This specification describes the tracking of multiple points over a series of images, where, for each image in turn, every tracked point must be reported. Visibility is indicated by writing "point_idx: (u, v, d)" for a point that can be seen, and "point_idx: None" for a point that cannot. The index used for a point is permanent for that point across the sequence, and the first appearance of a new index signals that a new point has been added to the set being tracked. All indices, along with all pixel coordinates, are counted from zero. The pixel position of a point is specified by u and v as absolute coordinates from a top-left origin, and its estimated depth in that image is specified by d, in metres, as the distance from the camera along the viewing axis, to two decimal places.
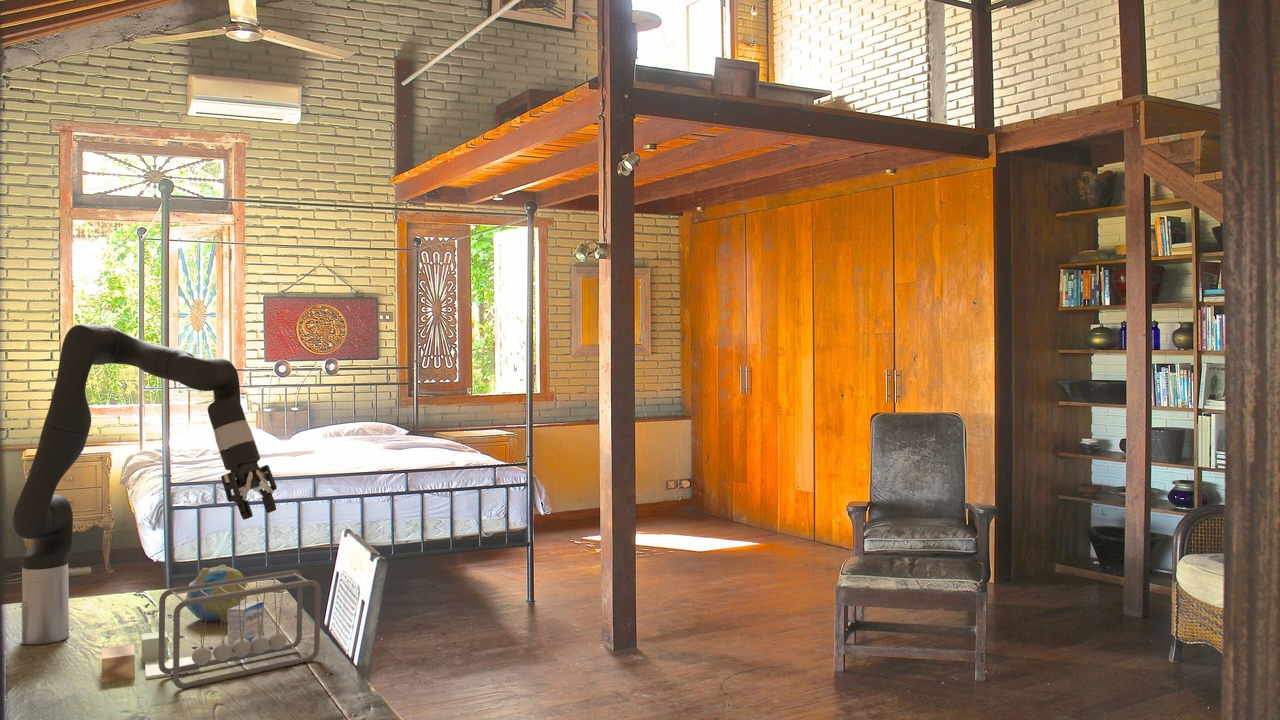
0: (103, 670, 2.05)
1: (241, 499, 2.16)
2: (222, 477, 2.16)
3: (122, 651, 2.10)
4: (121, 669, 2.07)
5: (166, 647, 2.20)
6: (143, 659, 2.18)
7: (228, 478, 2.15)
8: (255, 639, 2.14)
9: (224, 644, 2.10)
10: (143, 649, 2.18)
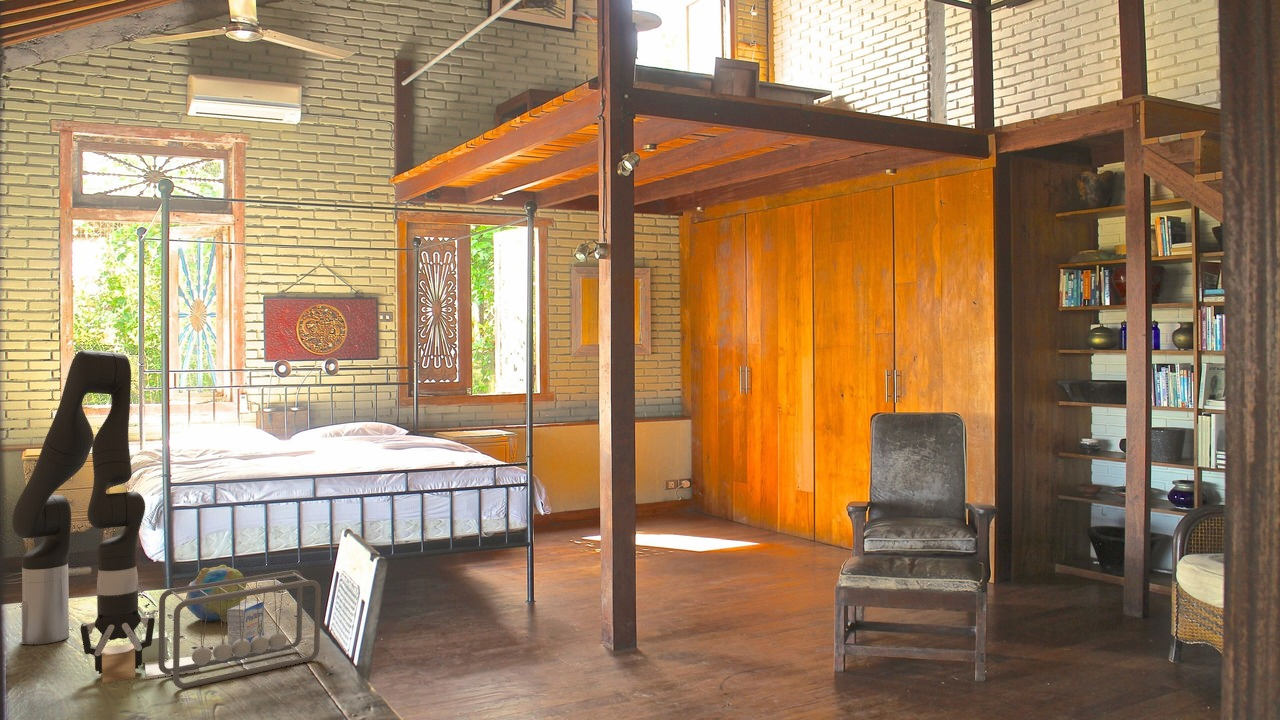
0: (103, 669, 2.05)
1: (94, 654, 2.07)
2: None
3: (122, 650, 2.10)
4: (121, 668, 2.07)
5: (166, 647, 2.20)
6: (143, 659, 2.18)
7: None
8: (255, 639, 2.14)
9: (224, 644, 2.10)
10: (143, 649, 2.18)
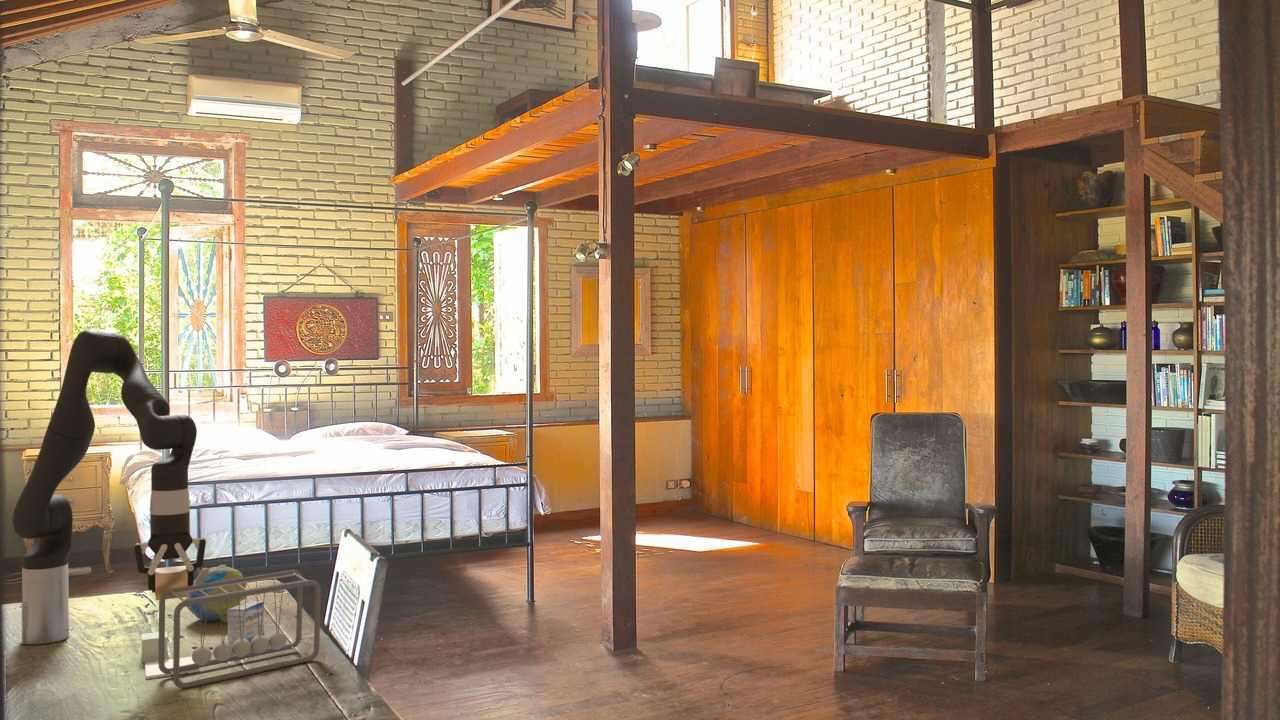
0: (157, 587, 2.09)
1: (147, 573, 2.11)
2: (134, 546, 2.11)
3: (175, 570, 2.13)
4: (174, 586, 2.10)
5: (166, 647, 2.20)
6: (143, 659, 2.18)
7: (135, 550, 2.10)
8: (255, 639, 2.14)
9: (224, 644, 2.10)
10: (143, 649, 2.18)
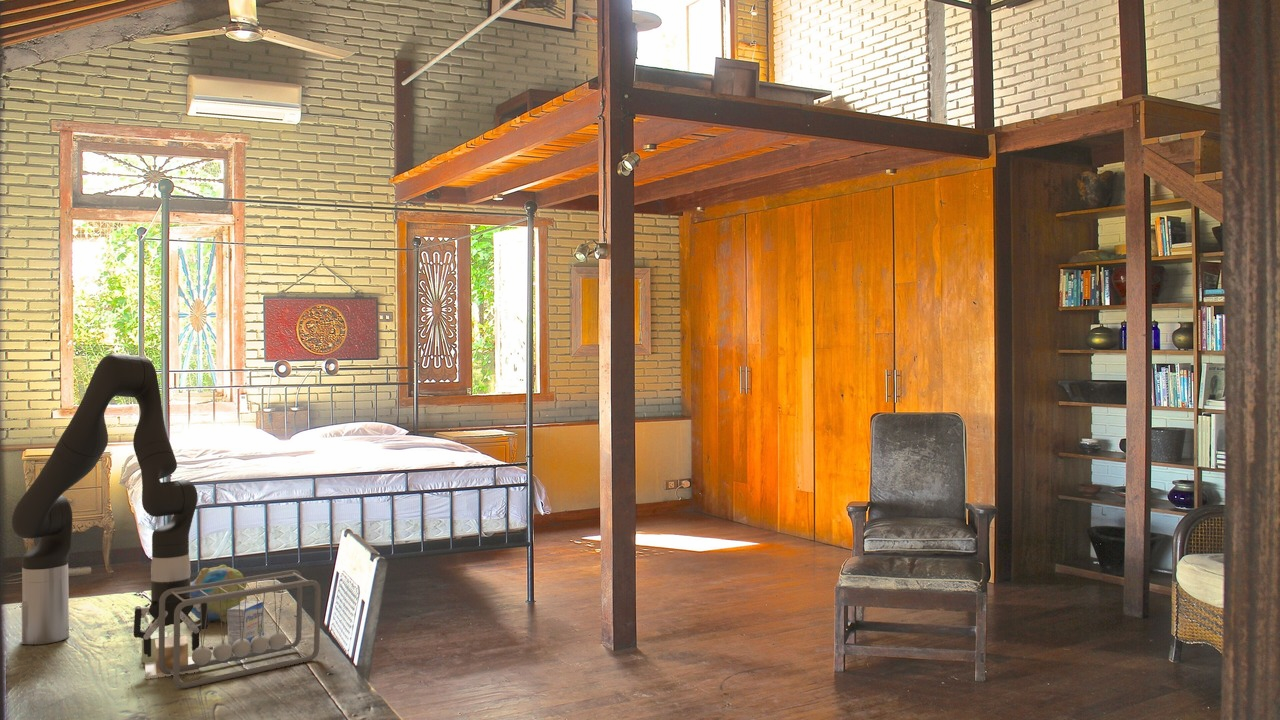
0: None
1: (143, 637, 2.10)
2: (135, 609, 2.11)
3: None
4: None
5: None
6: (143, 659, 2.18)
7: (135, 614, 2.10)
8: (255, 639, 2.14)
9: (224, 644, 2.10)
10: (143, 649, 2.18)
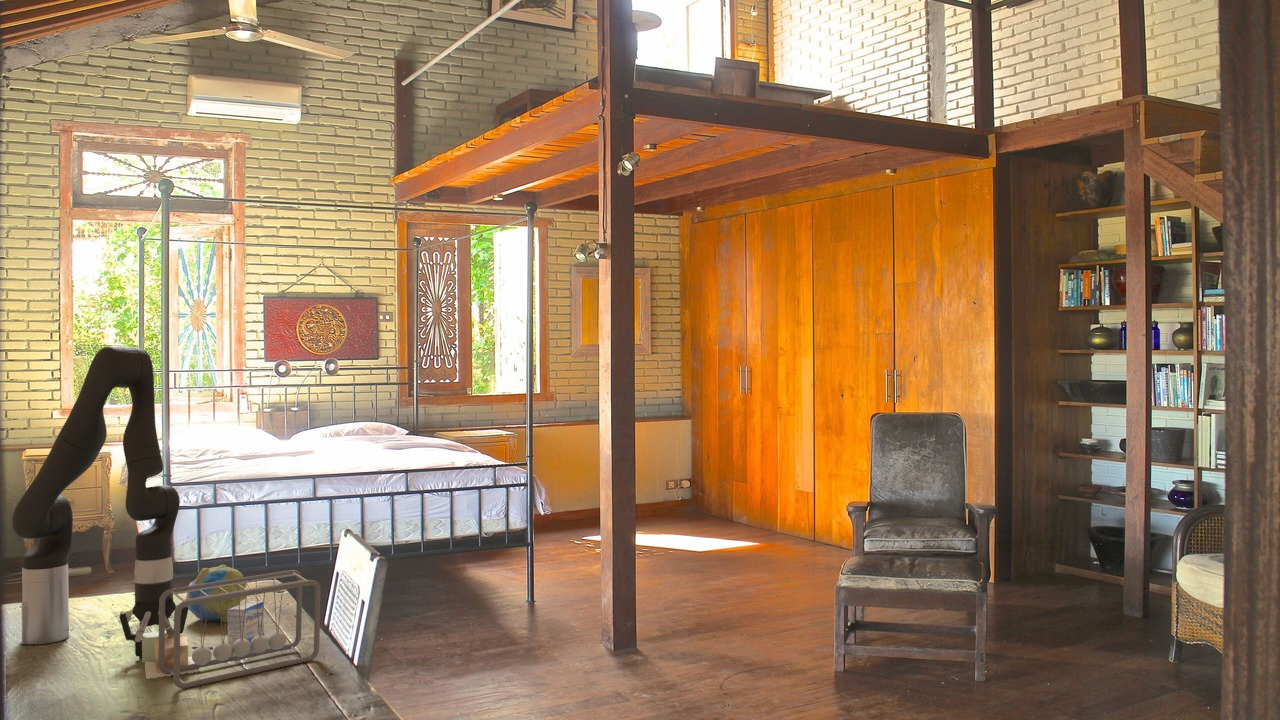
0: None
1: (135, 641, 2.19)
2: None
3: None
4: None
5: None
6: (143, 659, 2.18)
7: None
8: (255, 639, 2.14)
9: (224, 644, 2.10)
10: (143, 649, 2.18)
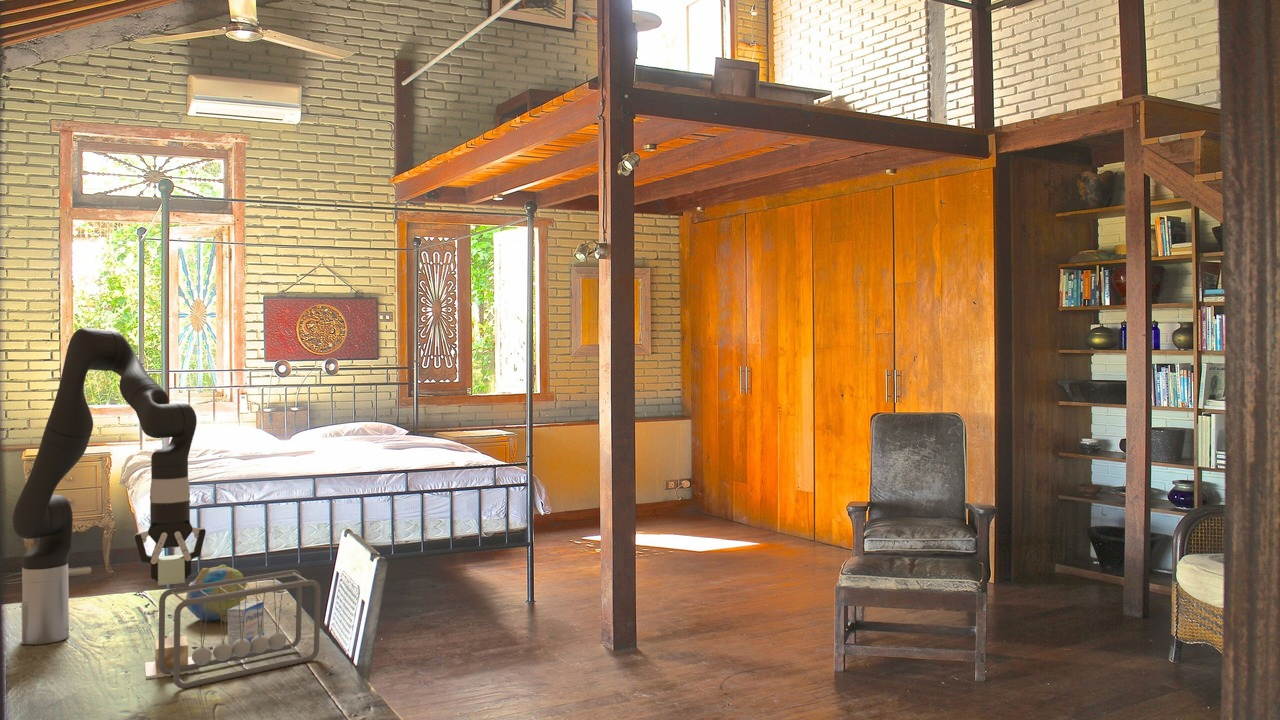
0: None
1: (150, 563, 2.11)
2: None
3: None
4: None
5: (183, 569, 2.12)
6: (159, 581, 2.10)
7: (136, 540, 2.10)
8: (255, 639, 2.14)
9: (224, 644, 2.10)
10: (159, 571, 2.10)
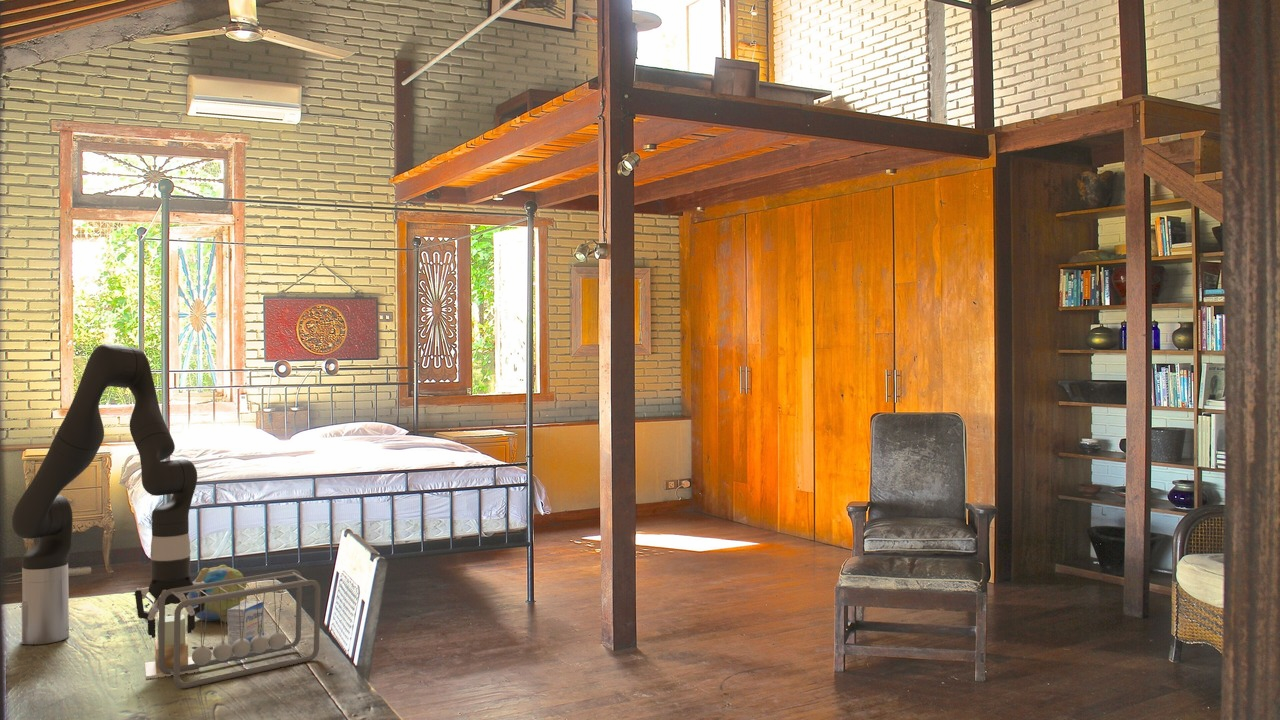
0: None
1: (147, 619, 2.11)
2: None
3: None
4: None
5: (184, 630, 2.12)
6: None
7: None
8: (255, 639, 2.14)
9: (224, 644, 2.10)
10: None
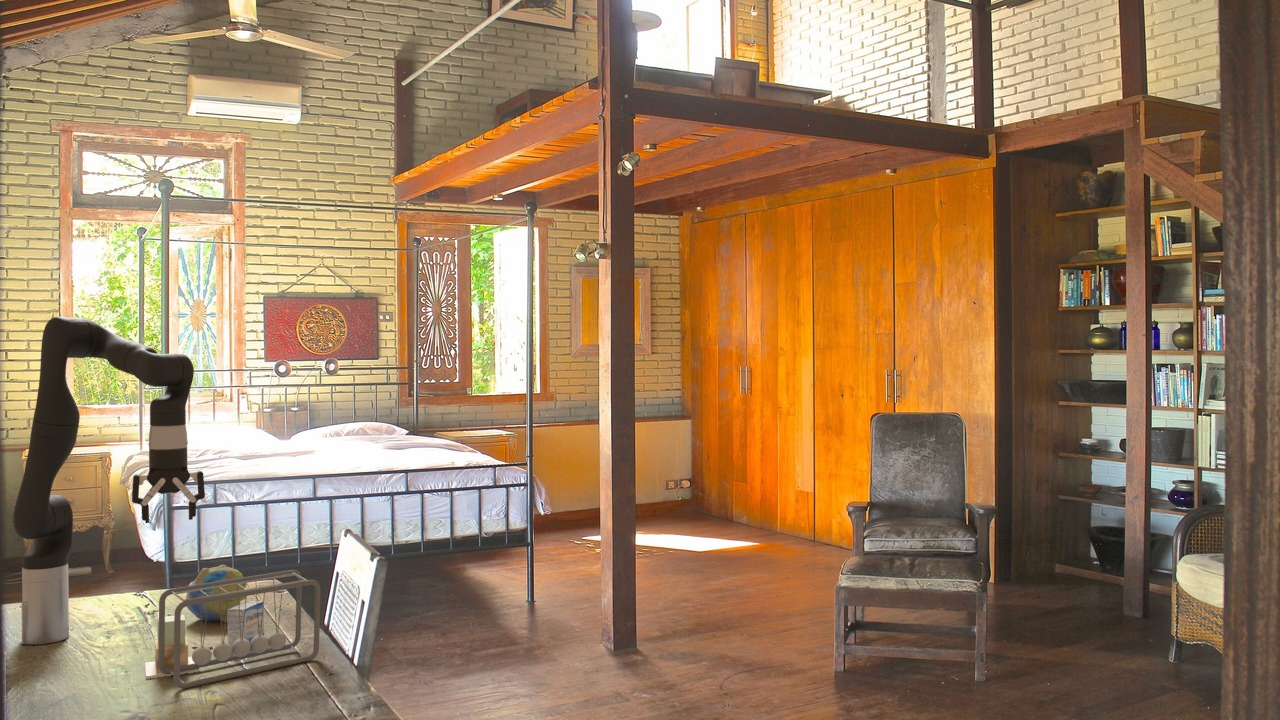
0: None
1: (141, 503, 2.16)
2: None
3: None
4: None
5: (184, 630, 2.12)
6: None
7: (133, 480, 2.16)
8: (255, 639, 2.14)
9: (224, 644, 2.10)
10: None
